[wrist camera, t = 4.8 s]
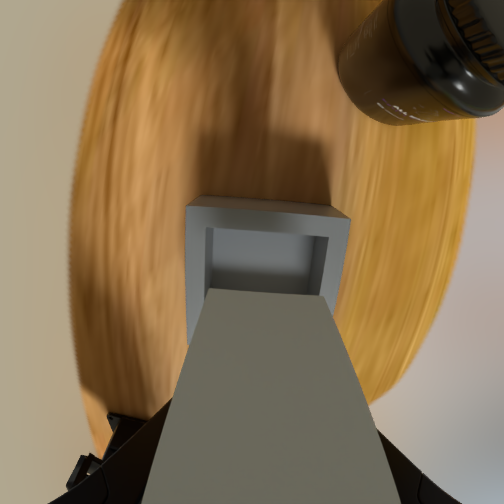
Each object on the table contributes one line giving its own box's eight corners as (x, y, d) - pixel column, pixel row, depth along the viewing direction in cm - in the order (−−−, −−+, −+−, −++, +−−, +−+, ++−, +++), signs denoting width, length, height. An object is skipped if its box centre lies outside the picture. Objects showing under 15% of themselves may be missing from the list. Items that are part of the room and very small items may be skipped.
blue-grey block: (305, 379, 11) (338, 614, 2) (209, 373, 11) (166, 613, 2) (323, 295, 10) (426, 605, 1) (208, 288, 10) (113, 619, 1)
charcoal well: (313, 319, 20) (323, 353, 16) (199, 311, 20) (187, 344, 16) (331, 205, 18) (350, 219, 14) (201, 194, 18) (186, 205, 14)
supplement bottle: (370, 144, 16) (516, 144, 5) (314, 51, 15) (388, -66, 3) (443, 107, 15) (579, 94, 4) (394, 23, 13) (497, -54, 2)
